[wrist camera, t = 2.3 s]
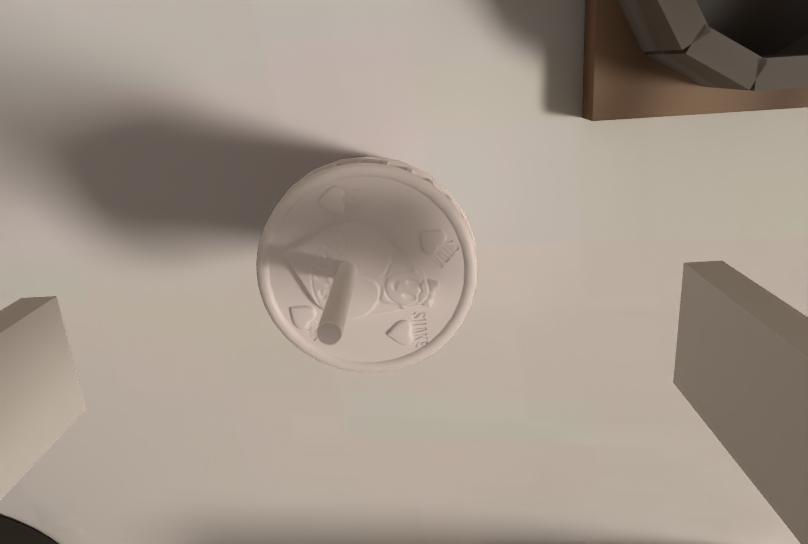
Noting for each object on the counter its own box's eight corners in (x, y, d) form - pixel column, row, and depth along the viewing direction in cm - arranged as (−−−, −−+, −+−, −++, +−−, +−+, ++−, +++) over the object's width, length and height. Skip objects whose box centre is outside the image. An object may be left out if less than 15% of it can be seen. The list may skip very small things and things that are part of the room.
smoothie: (327, 106, 25) (238, 153, 12) (476, 151, 26) (547, 244, 13) (292, 249, 27) (181, 426, 14) (430, 289, 28) (450, 494, 15)
